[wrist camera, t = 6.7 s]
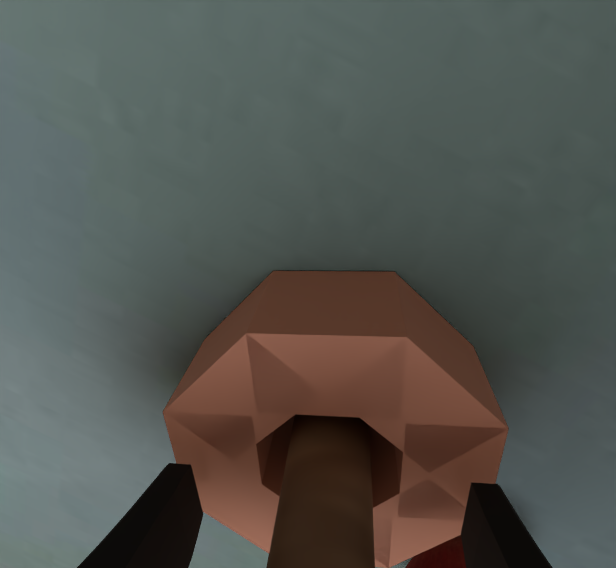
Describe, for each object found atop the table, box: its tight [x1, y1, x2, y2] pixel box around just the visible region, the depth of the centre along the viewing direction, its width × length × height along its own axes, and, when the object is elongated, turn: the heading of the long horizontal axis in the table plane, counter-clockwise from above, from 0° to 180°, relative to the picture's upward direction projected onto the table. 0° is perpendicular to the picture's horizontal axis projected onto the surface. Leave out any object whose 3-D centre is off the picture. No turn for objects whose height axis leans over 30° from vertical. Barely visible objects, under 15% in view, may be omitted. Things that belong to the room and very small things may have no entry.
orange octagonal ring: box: [163, 271, 509, 568], centre depth 13 cm, size 9×9×4 cm
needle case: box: [267, 414, 375, 568], centre depth 11 cm, size 2×2×8 cm
